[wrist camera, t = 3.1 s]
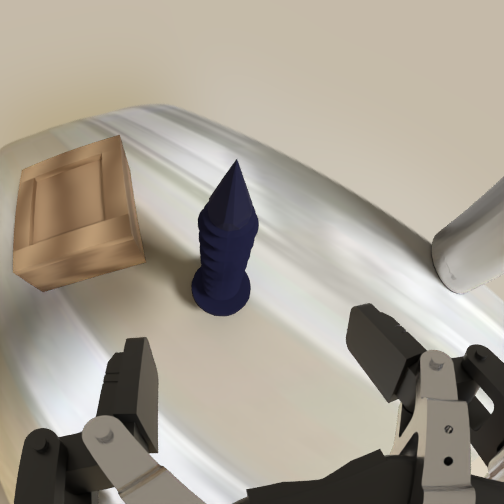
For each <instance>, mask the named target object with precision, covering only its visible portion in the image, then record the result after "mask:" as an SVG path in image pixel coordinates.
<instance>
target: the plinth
mask: <svg viewBox="0 0 504 504" xmlns="http://www.w3.org/2000/svg"><path fill="white" fill-rule="evenodd" d="M145 262H146V260H145V255H144V251H143V246H142V241H141V236H140V230H139V225H138V219H137V213H136V207H135V201H134V195H133V188H132V181H131V173H130V168H129V165H128V162H127V158H126V155H125V152H124V148H123V145H122V141H121V138H120V135H118V136H114V137H111V138H107V139H104V140H101V141H98V142H94V143H91V144H88V145H85V146H82V147H79V148H76V149H74V150H71V151H68V152H65V153H63V154H60V155H57V156H55V157H52V158H49V159H47V160H44V161H42V162H40V163H37V164H35V165H32V166H30V167H28V168H25V169H23V170H22V173H21V178H20V185H19V191H18V199H17V207H16V216H15V228H14V244H13V273H15V274H16V275H18V276H19V277H21V278H22V279H24V280H25V281H27V282H28V283H30V284H31V285H33V286H34V287H36V288H37V289H39V290H40V291H42V292H45V291H48V290H52V289H55V288H58V287H62V286H65V285H69V284H72V283H75V282H79V281H82V280H86V279H89V278H92V277H96V276H99V275H103V274H106V273H110V272H113V271H117V270H120V269H124V268H127V267H131V266H135V265H138V264H142V263H145Z"/></svg>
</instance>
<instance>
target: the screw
mask: <svg viewBox="0 0 504 504" xmlns="http://www.w3.org/2000/svg"><path fill="white" fill-rule="evenodd" d="M258 227H259V223H258V218H257V215H256V213H255V209H254V207H253V205H252V201H251V198H250V195H249V192H248V189H247V186H246V183H245V181H244V178H243V175H242V172H241V169H240V166H239V163H238V160H237V159H236V161H235V162H234V163H233V165H232V166H231V168H230V169H229V171H228V172H227V173H226V175H225V176H224V178H223V179H222V180H221V182H220V183H219V185H218V186H217V188H216V189H215V191H214V192H213V194H212V195H211V196H210V198H209V202H208V203H207V204H206V205H205V207H204V209H203V210H202V211H201V212H200V214H199V217H198V228H199V242H200V254H201V256H200V257H201V267H200V268H199V269H198V270H197V271H196V273H195V275H194V278H193V280H192V285H191V287H192V294H193V297H194V300H195V302H196V303H197V304H198V306H199V307H200V308H201V309H203V310H204V311H205V312H207V313H209V314H211V315H214V316H229V315H232V314H235V313H236V312H238V311H239V310H240V309H242V308H243V307H244V306H245V305H246V303H247V301H248V299H249V296H250V290H251V288H250V280H249V277H248V275H247V273H246V272H245V269H246V267H247V262H248V259H249V257H250V252H251V249H252V247H253V244H254V238H255V236H256V234H257V232H258Z"/></svg>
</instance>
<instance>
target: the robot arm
mask: <svg viewBox="0 0 504 504" xmlns="http://www.w3.org/2000/svg"><path fill="white" fill-rule="evenodd" d="M432 258H433V262H434V266H435V268H436V271H437V273H438V275H439V277H440V279H441V280H442V281H443V283H444V284H445V285H446V286H447V287H448V288H449V289H450V290H452V291H453V292H455V293H458V294H464V293H467V292H469V291H471V290H473V289H475V288H477V287H479V286H481V285H483V284H485V283H487V282H489V281H491V280H493V279H495V278H497V277H498V276H501V275H502V274H504V177H503V178H501V179H500V180H499V181H498V182H497V183H496V184H495V185H494V186H493V187H492V188H491V189H490V190H489V191H487V192H486V193H485V194H484V195H483V196H482V197H481V198H479V199H478V200H477V201H476V202H475V203H474V204H473V205H471V206H470V207H469V208H468V209H467V210H466V211H464V212H463V213H462V214H461V215H460V216H458V217H457V218H456V219H455V220H453V221H452V222H451V223H450V224H448V225H447V226H446V227H445V228H443V229H442V230H441V231H440V232H439V233H438V234H436V235H435V237H434V239H433V242H432ZM346 344H347V347H348V349H349V351H350V352H351V354H352V355H353V356H354V358H355V359H356V360H357V362H358V363H359V364H360V366H361V367H362V368H363V370H364V371H365V372H366V374H367V375H368V376H369V378H370V379H371V380H372V382H373V383H374V385H375V386H376V387H377V389H378V390H379V391H380V393H381V394H382V395H383V397H384V398H385V399H386V401H387V402H388V403H390V402H392V401H394V400H397V399H399V400H400V401H401V403H400V405H399V409H398V418H397V426H396V433H395V440H394V445H393V448H392V450H391V452H390V455H385V456H384V455H383V453H382V452H381V450H380V449H378V450H376V451H374V452H372V453H369V454H367V455H364V456H362V457H360V458H357V459H354V460H352V461H350V462H349V463H347V464H346V465H344V466H343V467H341V468H339V469H338V470H336V471H335V472H333V473H332V474H330V475H328V476H327V477H325V478H323V479H320V480H311V481H296V482H281V483H276V484H272V485H267V486H262V487H257V488H252V489H246V491H247V497H245V498H243V499H240V500H238V501H236V502H235V503H233V504H504V363H503V362H502V361H501V360H500V359H499V358H498V357H497V356H496V355H495V354H494V353H493V352H491V351H490V350H489V349H488V348H486V347H485V346H482V345H471V346H469V347H468V349H467V351H466V353H465V355H464V356H463V357H457V358H450V357H449V356H448V355H447V354H445V353H444V352H441V351H438V350H429V351H427V350H426V349H425V348H424V347H423V346H422V345H421V344H420V343H419V342H418V341H417V340H416V339H415V338H413V337H412V336H411V335H410V334H409V333H408V332H406V330H405V329H404V328H403V327H402V326H400V324H399V323H398V322H397V321H396V320H395V319H394V318H392V317H391V316H389V315H387V314H385V313H383V312H379V311H378V310H377V309H376V308H375V307H374V306H373V305H372V304H370V303H368V304H363V305H359V306H354V307H353V308H352V309H351V312H350V318H349V323H348V329H347V334H346ZM105 373H106V375H105V376H104V381H103V382H104V384H103V385H102V390H101V394H100V399H99V404H98V409H97V414H96V417H95V418H93V419H91V420H90V421H89V422H87V424H86V425H85V426H84V428H83V431H82V432H80V433H77V434H72V435H67V436H63V437H58V436H57V435H56V434H55V433H54V432H53V431H51V430H49V429H46V428H40V429H36V430H34V431H32V432H31V433H30V434H29V435H28V436H27V437H26V439H25V442H24V446H23V450H22V455H21V460H20V465H19V471H18V477H17V483H16V490H15V499H14V504H98V491H99V490H104V489H108V488H112V487H115V488H116V489H117V491H118V492H119V493H118V494H119V496H120V497H121V499H122V500H123V501H124V502H125V504H206V503H205V502H203V501H202V500H201V499H200V498H199V497H197V496H196V495H195V494H194V493H193V492H191V491H190V490H189V489H188V488H187V487H186V486H185V485H184V484H182V483H181V482H180V481H179V480H178V479H177V478H176V477H175V476H174V475H173V474H172V473H171V472H169V471H168V470H167V469H166V468H165V467H164V466H160V465H159V464H158V463H157V462H156V461H155V460H154V459H153V458H152V457H151V456H150V455H149V453H158V373H157V368H156V365H155V362H154V359H153V355H152V352H151V349H150V345H149V342H148V339H147V337H141V338H127V339H126V343H125V347H124V352H120V353H115V354H114V355H113V356H112V358H111V359H110V360H109V361H108V364H107V368H106V372H105ZM480 387H481V388H482V389H483V391H484V392H485V393H486V394H487V395H488V396H489V397H490V398H491V400H492V401H493V403H494V411H493V413H492V414H490V413H489V412H488V410H487V409H486V408H485V407H484V406H483V404H482V403H481V402H480V401H479V400H478V399H477V397H476V396H475V394H476V393H477V391H478V389H479V388H480ZM470 443H471V444H472V446H473V447H474V449H475V450H476V451H477V453H478V454H479V456H480V457H481V458H482V460H483V461H484V463H485V464H486V466H487V467H488V473H487V474H486V476H485V478H483V477H479V476H475V475H471V447H470Z"/></svg>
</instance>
